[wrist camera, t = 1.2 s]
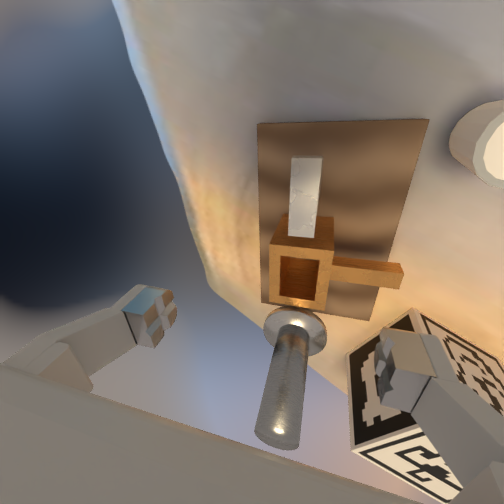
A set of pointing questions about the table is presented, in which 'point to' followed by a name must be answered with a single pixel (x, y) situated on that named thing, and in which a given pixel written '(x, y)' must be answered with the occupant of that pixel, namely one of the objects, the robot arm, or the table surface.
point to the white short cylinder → (481, 142)
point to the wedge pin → (304, 194)
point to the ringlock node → (303, 319)
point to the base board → (341, 192)
